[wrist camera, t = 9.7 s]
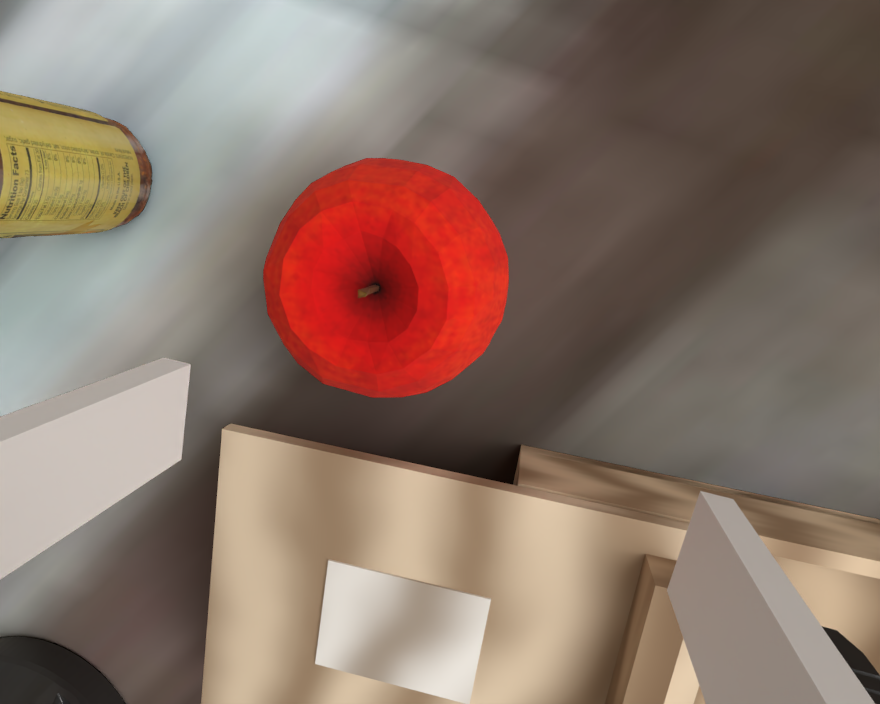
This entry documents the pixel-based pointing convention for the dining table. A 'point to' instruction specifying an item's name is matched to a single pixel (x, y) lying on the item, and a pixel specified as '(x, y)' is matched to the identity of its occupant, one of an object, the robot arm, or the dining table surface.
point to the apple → (386, 278)
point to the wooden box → (775, 521)
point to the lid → (430, 587)
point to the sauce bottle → (66, 170)
